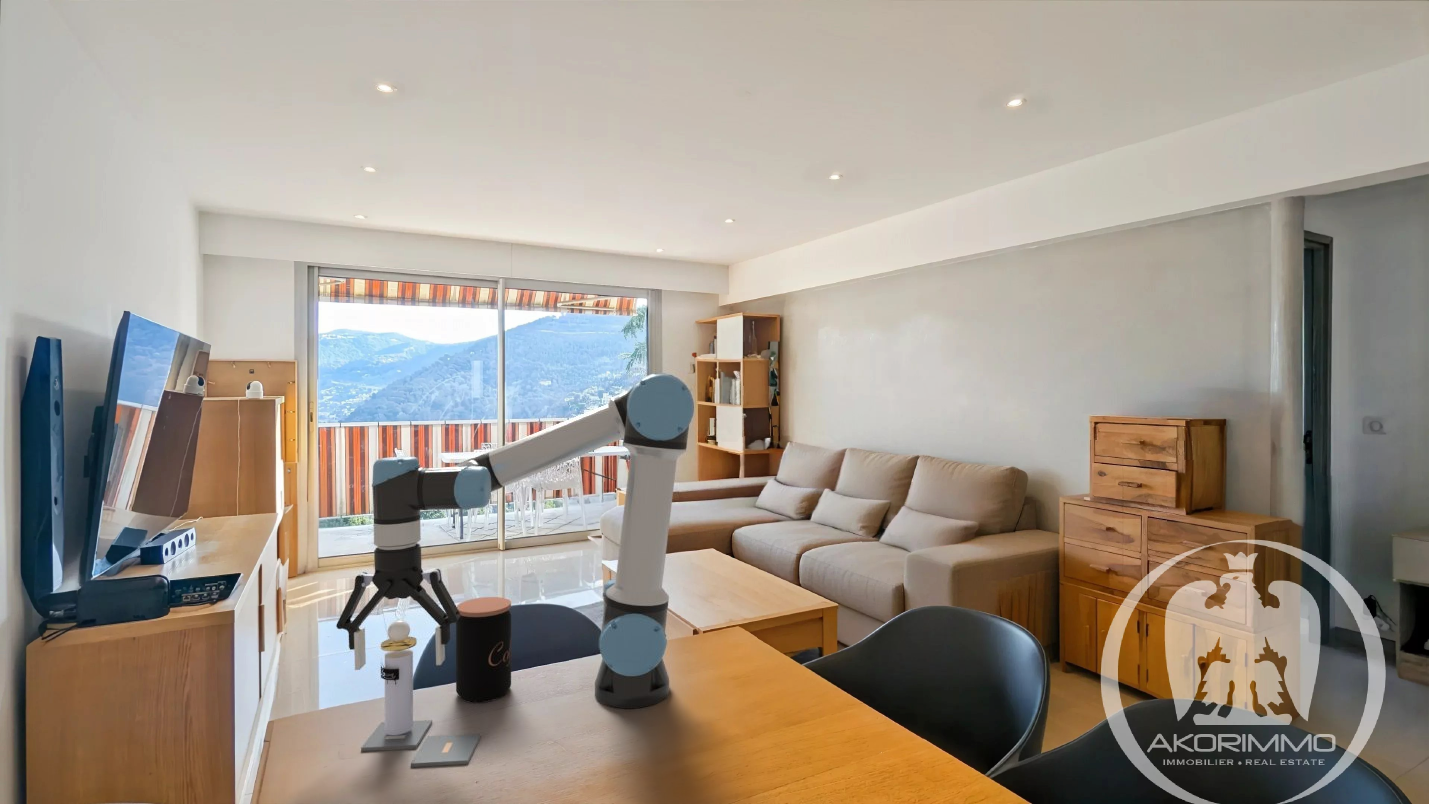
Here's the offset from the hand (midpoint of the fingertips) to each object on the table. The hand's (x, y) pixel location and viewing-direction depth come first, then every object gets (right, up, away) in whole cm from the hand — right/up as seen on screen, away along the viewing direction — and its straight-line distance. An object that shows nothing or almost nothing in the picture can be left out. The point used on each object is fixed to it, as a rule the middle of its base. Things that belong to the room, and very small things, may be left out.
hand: (400, 664), depth 121 cm
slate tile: (+10, -13, -5) cm, 17 cm away
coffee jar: (+9, -13, +18) cm, 24 cm away
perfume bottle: (0, -12, 0) cm, 12 cm away
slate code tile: (0, -13, 0) cm, 13 cm away
